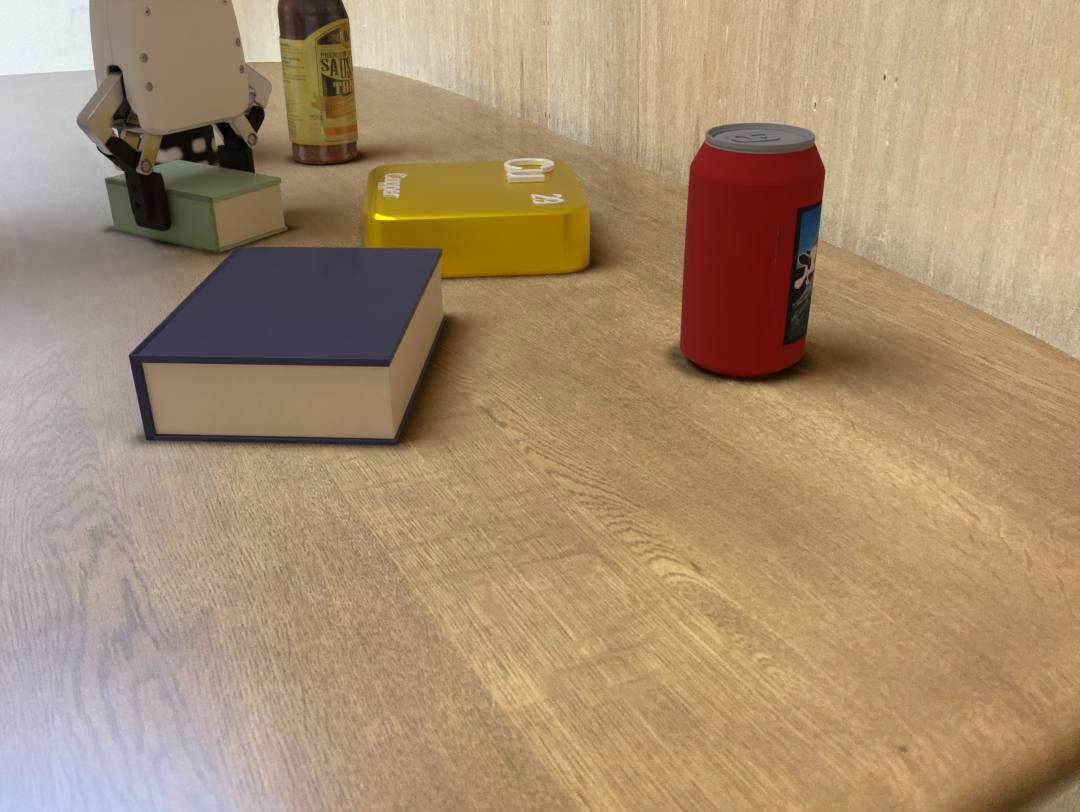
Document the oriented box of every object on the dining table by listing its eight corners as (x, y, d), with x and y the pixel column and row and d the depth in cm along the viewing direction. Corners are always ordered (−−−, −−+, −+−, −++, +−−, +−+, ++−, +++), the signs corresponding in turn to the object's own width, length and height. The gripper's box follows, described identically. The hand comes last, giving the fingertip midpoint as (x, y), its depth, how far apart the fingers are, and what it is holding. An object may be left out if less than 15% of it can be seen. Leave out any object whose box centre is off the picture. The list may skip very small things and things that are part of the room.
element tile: (373, 221, 87) (368, 157, 85) (568, 214, 88) (568, 151, 86) (365, 284, 74) (359, 210, 72) (593, 275, 76) (594, 202, 73)
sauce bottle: (340, 169, 102) (316, -83, 92) (279, 165, 104) (248, -83, 94) (373, 154, 107) (353, -87, 97) (313, 150, 109) (288, -87, 99)
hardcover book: (115, 232, 85) (104, 178, 83) (187, 211, 90) (179, 159, 88) (217, 255, 80) (207, 198, 78) (288, 232, 85) (281, 177, 83)
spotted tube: (167, 179, 100) (121, -81, 90) (105, 167, 104) (54, -83, 93) (237, 160, 106) (202, -86, 95) (175, 150, 110) (135, -87, 99)
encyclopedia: (146, 443, 54) (127, 354, 52) (248, 319, 69) (237, 246, 67) (396, 449, 54) (388, 358, 51) (446, 322, 68) (441, 248, 66)
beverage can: (826, 377, 60) (856, 142, 54) (708, 392, 59) (725, 152, 53) (768, 333, 66) (790, 116, 60) (659, 347, 64) (670, 124, 58)
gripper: (215, -61, 84) (250, 183, 93) (4, -45, 71) (68, 235, 80) (289, -59, 80) (318, 195, 89) (80, -41, 68) (138, 252, 77)
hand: (199, 212), depth 85 cm, fingers open, 7 cm apart
